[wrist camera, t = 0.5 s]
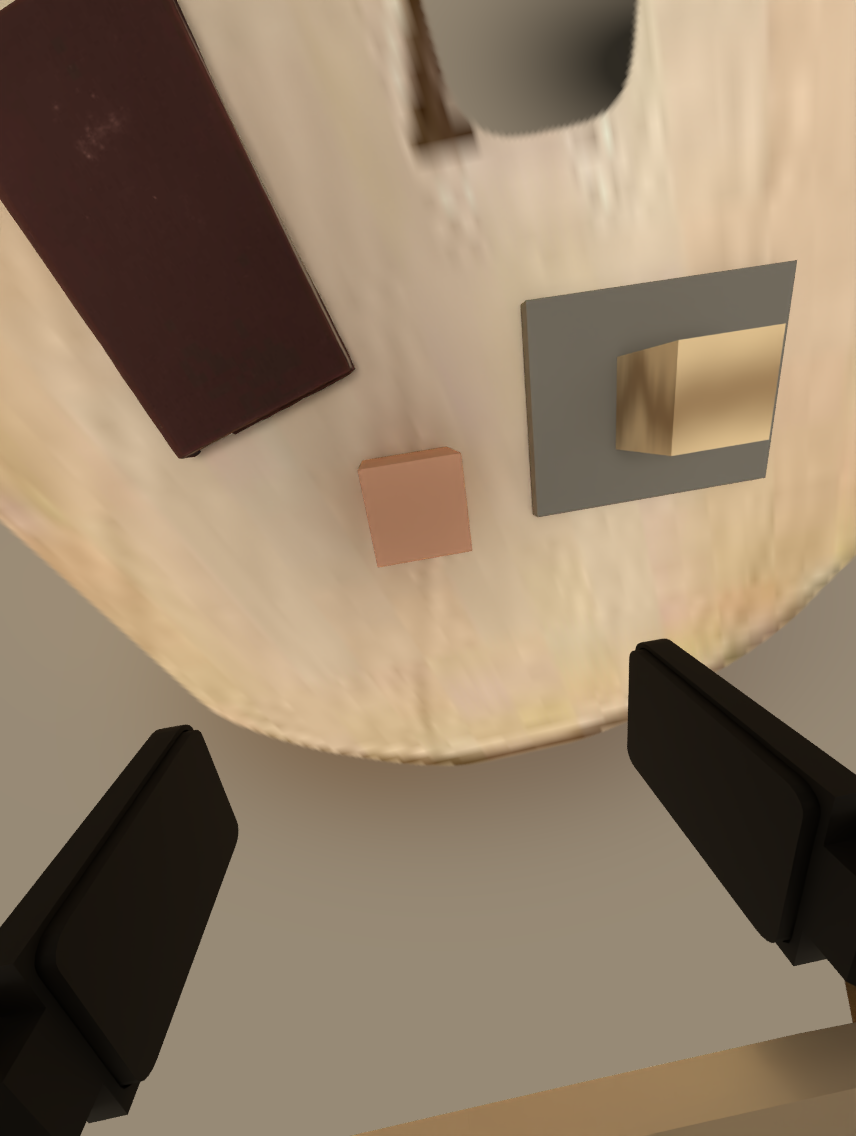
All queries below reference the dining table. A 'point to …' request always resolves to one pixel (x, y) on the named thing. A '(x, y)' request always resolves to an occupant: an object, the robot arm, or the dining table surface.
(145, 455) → the dining table surface
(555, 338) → the plate
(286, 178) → the dining table surface
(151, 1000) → the robot arm
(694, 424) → the maple block
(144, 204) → the book
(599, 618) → the dining table surface
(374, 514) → the terracotta block
